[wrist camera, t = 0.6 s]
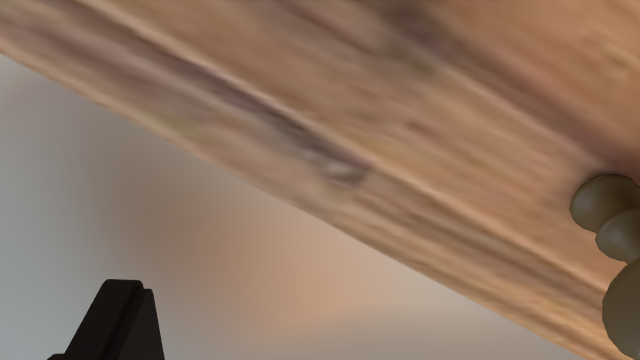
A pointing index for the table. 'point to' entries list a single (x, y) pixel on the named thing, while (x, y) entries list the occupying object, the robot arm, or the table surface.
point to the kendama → (616, 251)
